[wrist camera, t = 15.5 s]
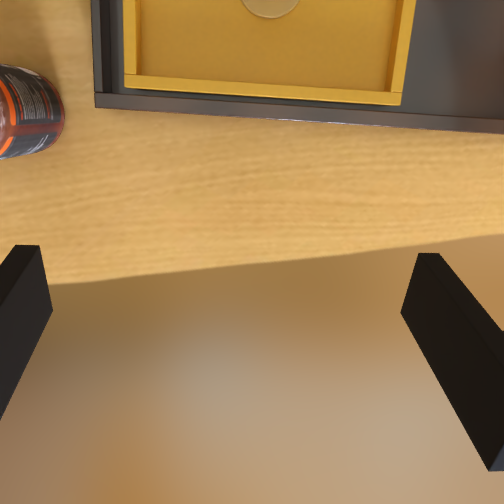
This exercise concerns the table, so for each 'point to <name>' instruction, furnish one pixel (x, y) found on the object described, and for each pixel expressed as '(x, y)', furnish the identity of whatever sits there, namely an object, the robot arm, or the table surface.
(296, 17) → the tray
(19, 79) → the supplement bottle
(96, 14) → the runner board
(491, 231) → the table surface
